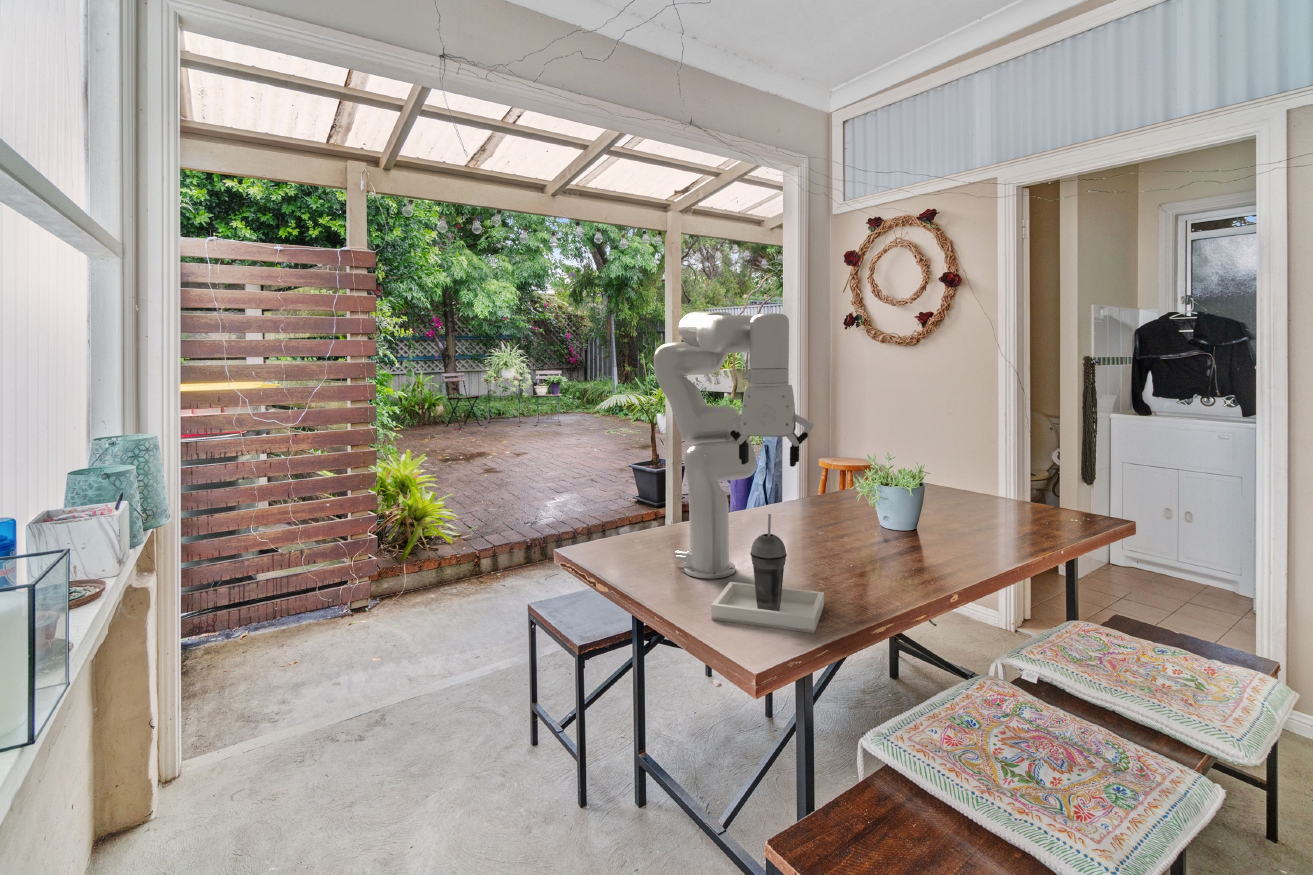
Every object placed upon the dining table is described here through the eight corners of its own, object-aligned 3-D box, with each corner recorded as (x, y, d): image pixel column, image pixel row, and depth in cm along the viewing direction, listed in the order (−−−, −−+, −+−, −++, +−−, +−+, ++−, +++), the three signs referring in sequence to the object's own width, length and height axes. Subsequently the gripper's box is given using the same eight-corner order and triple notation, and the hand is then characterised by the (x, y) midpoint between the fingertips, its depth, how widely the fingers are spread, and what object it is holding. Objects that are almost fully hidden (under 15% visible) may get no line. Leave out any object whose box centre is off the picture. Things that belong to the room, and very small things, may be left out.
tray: (711, 619, 125) (711, 604, 124) (730, 594, 138) (729, 581, 137) (814, 633, 117) (814, 617, 117) (823, 606, 130) (823, 592, 130)
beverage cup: (782, 601, 131) (782, 508, 129) (790, 615, 124) (790, 516, 122) (747, 602, 131) (747, 509, 129) (754, 616, 124) (753, 517, 122)
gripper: (720, 379, 123) (721, 465, 125) (811, 378, 116) (810, 469, 118) (731, 377, 129) (731, 459, 132) (817, 377, 123) (815, 463, 125)
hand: (768, 464), depth 125 cm, fingers open, 9 cm apart
